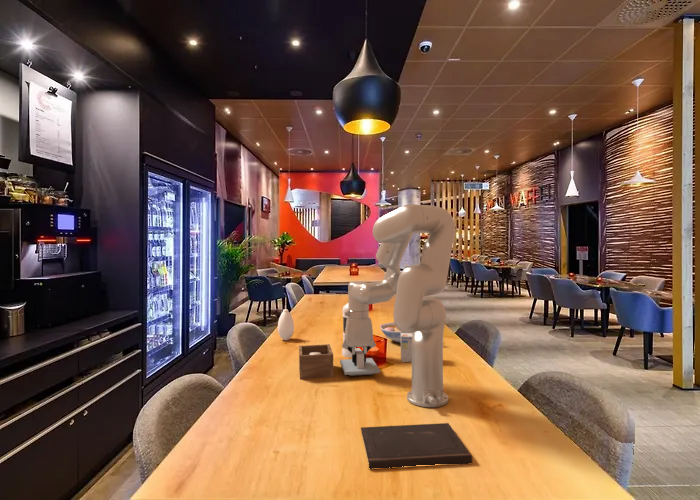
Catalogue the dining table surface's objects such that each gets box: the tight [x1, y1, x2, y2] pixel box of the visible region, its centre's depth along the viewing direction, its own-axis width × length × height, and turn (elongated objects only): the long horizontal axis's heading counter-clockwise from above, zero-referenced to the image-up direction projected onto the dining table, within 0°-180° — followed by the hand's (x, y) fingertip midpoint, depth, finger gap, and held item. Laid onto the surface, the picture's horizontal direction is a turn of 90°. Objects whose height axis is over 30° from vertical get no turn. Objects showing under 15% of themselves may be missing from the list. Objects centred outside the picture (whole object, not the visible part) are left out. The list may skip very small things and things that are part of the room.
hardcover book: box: [360, 422, 473, 469], centre depth 94 cm, size 16×23×2 cm
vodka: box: [341, 302, 356, 358], centre depth 169 cm, size 9×9×30 cm
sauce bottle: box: [277, 304, 295, 341], centre depth 199 cm, size 8×8×18 cm
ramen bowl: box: [379, 322, 404, 344], centre depth 193 cm, size 25×23×8 cm
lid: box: [339, 348, 381, 377], centre depth 147 cm, size 15×13×7 cm
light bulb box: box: [400, 333, 413, 363], centre depth 163 cm, size 11×7×11 cm, turn 84°
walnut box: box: [298, 343, 335, 380], centre depth 147 cm, size 14×12×9 cm
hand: (359, 363), depth 147 cm, fingers closed on lid
